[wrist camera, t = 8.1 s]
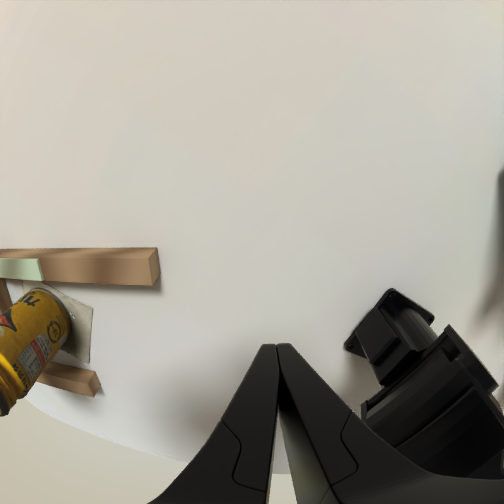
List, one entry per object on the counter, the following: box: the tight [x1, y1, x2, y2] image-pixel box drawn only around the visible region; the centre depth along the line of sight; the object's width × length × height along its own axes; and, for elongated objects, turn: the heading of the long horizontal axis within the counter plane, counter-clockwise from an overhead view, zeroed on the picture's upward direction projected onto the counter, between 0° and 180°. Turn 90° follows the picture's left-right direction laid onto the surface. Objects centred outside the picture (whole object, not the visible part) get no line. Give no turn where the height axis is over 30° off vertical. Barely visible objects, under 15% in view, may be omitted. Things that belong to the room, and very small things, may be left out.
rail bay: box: [0, 248, 160, 397], centre depth 22 cm, size 19×16×2 cm
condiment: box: [0, 280, 92, 416], centre depth 17 cm, size 7×8×12 cm
